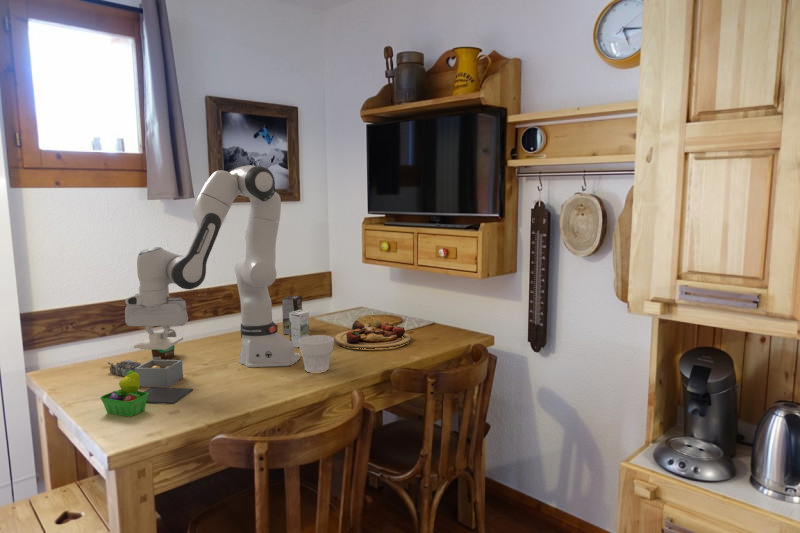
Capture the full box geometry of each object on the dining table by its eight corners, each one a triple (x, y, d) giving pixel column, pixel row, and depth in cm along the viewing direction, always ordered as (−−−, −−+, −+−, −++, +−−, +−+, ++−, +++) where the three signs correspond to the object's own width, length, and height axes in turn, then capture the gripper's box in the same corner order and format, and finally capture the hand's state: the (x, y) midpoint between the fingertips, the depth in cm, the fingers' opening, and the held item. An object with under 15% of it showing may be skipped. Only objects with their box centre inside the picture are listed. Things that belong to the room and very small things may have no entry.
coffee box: (296, 335, 251) (295, 299, 249) (282, 334, 252) (281, 299, 250) (303, 330, 260) (302, 295, 258) (289, 329, 261) (288, 295, 259)
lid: (183, 341, 193) (182, 328, 193) (167, 350, 183) (166, 336, 182) (151, 341, 195) (150, 328, 194) (134, 350, 184) (132, 336, 184)
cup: (303, 377, 193) (302, 345, 192) (295, 367, 204) (294, 337, 203) (339, 372, 198) (338, 341, 197) (329, 363, 209) (328, 333, 208)
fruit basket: (99, 414, 162) (96, 376, 161) (124, 403, 171) (122, 367, 169) (130, 419, 158) (127, 380, 157) (154, 408, 166) (152, 370, 165)
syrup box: (299, 344, 236) (297, 309, 235) (310, 345, 233) (309, 310, 232) (289, 347, 231) (288, 312, 230) (301, 349, 228) (299, 313, 227)
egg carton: (106, 373, 201) (105, 362, 200) (126, 367, 207) (125, 356, 207) (124, 378, 195) (123, 366, 195) (144, 372, 202) (143, 360, 201)
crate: (183, 377, 194) (182, 360, 194) (167, 387, 185) (166, 369, 184) (152, 376, 196) (151, 359, 195) (135, 386, 186) (134, 368, 185)
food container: (165, 363, 211) (163, 336, 210) (150, 362, 213) (148, 335, 211) (184, 353, 223) (182, 328, 222) (170, 353, 225) (168, 328, 223)
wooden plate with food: (362, 357, 218) (362, 335, 217) (320, 339, 243) (320, 320, 242) (426, 344, 237) (426, 325, 236) (381, 329, 262) (381, 312, 261)
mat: (192, 390, 181) (192, 388, 181) (173, 404, 170) (173, 402, 170) (151, 388, 183) (151, 387, 183) (129, 402, 171) (129, 400, 171)
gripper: (189, 295, 188) (193, 336, 190) (131, 295, 191) (135, 336, 193) (180, 299, 182) (183, 341, 184) (120, 299, 185) (124, 341, 187)
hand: (158, 338), depth 189 cm, fingers closed on lid, 2 cm apart
